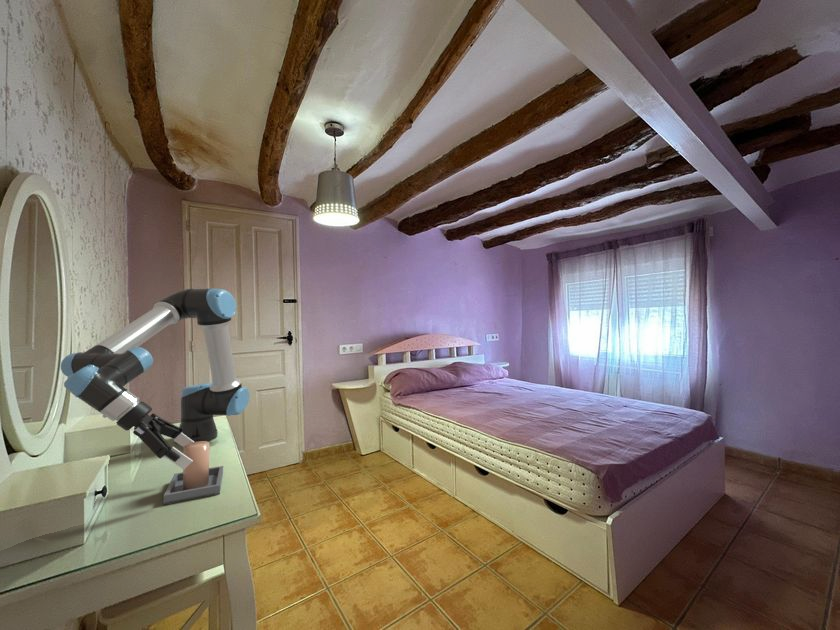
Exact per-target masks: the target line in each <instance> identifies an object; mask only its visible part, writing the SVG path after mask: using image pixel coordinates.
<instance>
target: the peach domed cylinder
mask: <svg viewBox="0 0 840 630" xmlns="http://www.w3.org/2000/svg"><path fill="white" fill-rule="evenodd" d="M183 454H184V455H186V456H187V457H189V458H190V459H191V460H193V462H192V463H191V464H190V465H188V466H187V467H186V468H185V469H184V470H183V469H182V470H183V471H182V472H183V490H189V489H195V488H200V487H205V486H207V485H208V484H209V468H210V441H198V442H193V443H190V444H187V445H185V446H184V448H183Z"/></svg>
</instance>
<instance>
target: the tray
mask: <svg viewBox="0 0 840 630" xmlns="http://www.w3.org/2000/svg"><path fill="white" fill-rule="evenodd" d="M223 477H224V465H221V466H219V465H218V466H213V467H209V484H208V485H207V486H205V487H200V488H195V489H189V490H183V471H182V472H177V473H173V476H172V478H171V480H170V482H169V484H168V486H167V488H166V490H165V492H164V494H163V501H162V502H163V503H162V504H163V506H167V505H171V504H175V503H176V504H177V503H182V502H187V501H191V500H196V499H198V500H199V499H203V498H207V497H212V496H217V495H220V494H221V488H222V484H223V483H222V482H223Z"/></svg>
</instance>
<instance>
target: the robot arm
mask: <svg viewBox="0 0 840 630" xmlns="http://www.w3.org/2000/svg"><path fill="white" fill-rule="evenodd" d="M236 310H237V304H236V300H235V298H234V296H233V294H232V293H230V292H229V291H228V290H225V289H224V288H223V289H222V288H214V287H213V288H186V289H183V290H178V291H177V292H174V293H172V294H170V295H168V296H166V297H164V298H162V299H161V300H159V301H157V302H156V303H155V304H154V305H153V307H152V309H150V310H149V311H147V312H146V313H144V314H142V315H141V316H140V317H137V318H136V319H135V320H133V321H132V322H130V323H129V324H127V325H125V326H124V327H122V328H121V329H119V330H118V331H116V332H114V333H113V334H111V335H110V336H108V337H107V338H105V339H103V340H102V341H100V342H99V343H97V344H95V345H94V346H92V347H91V348H89V349H88V350H86V351H83V352H81V351H80V352H73V353H70V354H68V355H66V356H65V357H64V358H63V359H62V360H61V363H60V371H61V372H62V374H63V375H64V376H65V377H68V378H67V379H66V380H65V381H64V383H63V386H64V388H65V389H66V390H67V391H68V392H70V393H71V394H72V395H73V396H74V397H75V398H78V399H79V400H81V401H82V402H84V403H85V404H87V405H88V406H90V407H91V408H92V409H94V410H95V411H97V412H99V413H100V414H101V415H102V418H103V419H104V418H107V419H109V420H111V422H115V421H116V425H117V426H119V427H120V428H121V429H123V430H125V431H130V430H131V429H132V428H133V427H134V428H135V430H133V431H132V433H133V435H135V437H138V438H139V439H140V440H141V441H142V442H143V443H144V444H145V446H146V447H148V448H149V449H150V450H151V451H152V452H153V453H154V454H155V456H156V457H157V458H158V459H162V458H163V457H164V458H166V459H168V460H169V461H170V462H172V463H174V464H175V465H176V466H178V467H179V468H180V469H182V470H184V469H185V468H186V467H187V466H188V465H190V464H191V463H192V462H193V460H191V459H190V458H189V457H187V456H186V455H184V452H182V451H180V450H179V449H178V448H176V447H174V446H172V447H171V445H170V444H169V443H168V441H167V440H166V439H165V437H168V438H170V439H173V441H174V443H175V444H177V445H179V446H180V447H182V448H183V449H184V446H185V445H187V444H190V443H193V442H198V441H208V442H210V441H212V440H214V439H217V438H218V433H219V432H218V428H217V426H216V425H217V424H216V423H215V420H214V416H228V417H231V416H239V415H241V414H242V413H243V412H244V411H245V410H246V408H247V406H248V403H249V401H250V390H249V389H248V388H247V387H244V386H242V381H241V379H240V378H238V377H237V374H236V367H235V361H234V355H233V350H232V348H233V347H232V343H231V338H230V331H229V323H231V322H232V317H234V315H236ZM186 319H196V322H197V323H196V324H197V325H198V326H199V327H201V328H202V329H203V330H202V331H203V335H204V340H205V347H206V351H207V352H206V353H207V357H208V358H207V359H208V362H209V363H208V364H209V369H210V374H211V379H212V382H206V383H205V382H204V383H200V384H192V385H188V386H185V387H184V388H183V389H182V390H181V397H180V423H179V426H177V425H176V424H174V423H171V422H169V421H168V420H165V419H164V418H162V417H160V416H158V415H157V414H155V413H151V412H152V410H153V408H152V406H150V405H148V404H147V403H146V402H145V401H140V398H139V397H138V396H136V395H135V394H134V393H132V392H131V391H129V390H128V389H127V388H125V387H124V386H126V385H127V384H129V383H130V382H132V381H133V380H134V379H136V378H137V377H139V376H141V375H142V374H143V373H145V371H147V370H148V369H150V367H151V366H152V365H153V363H154V357H152V354H151V353H150V352H149V351H148V350H147V349H146V348H143V347H140V346H142V344H144V343H146V342H147V341H148V340H150V339H151V338H152V337H154V336H156V335H157V334H158V333H159V332H161V331H162V330H164V329H165V328H166V327H168V326H169V325H174V324H177V323H178V322H180V321H182V320H186ZM150 413H151V415H149V414H150ZM164 436H165V437H164Z"/></svg>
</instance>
